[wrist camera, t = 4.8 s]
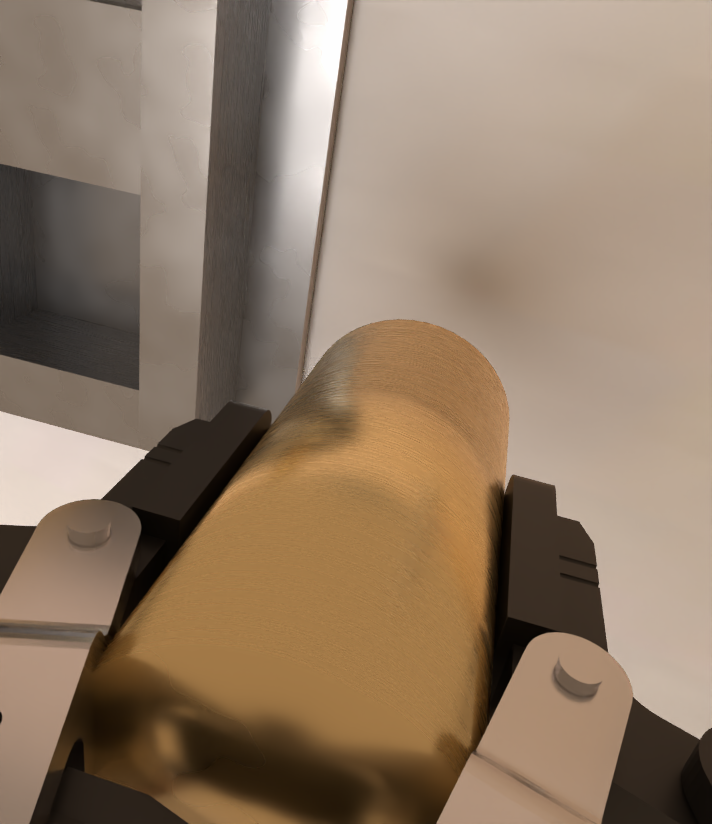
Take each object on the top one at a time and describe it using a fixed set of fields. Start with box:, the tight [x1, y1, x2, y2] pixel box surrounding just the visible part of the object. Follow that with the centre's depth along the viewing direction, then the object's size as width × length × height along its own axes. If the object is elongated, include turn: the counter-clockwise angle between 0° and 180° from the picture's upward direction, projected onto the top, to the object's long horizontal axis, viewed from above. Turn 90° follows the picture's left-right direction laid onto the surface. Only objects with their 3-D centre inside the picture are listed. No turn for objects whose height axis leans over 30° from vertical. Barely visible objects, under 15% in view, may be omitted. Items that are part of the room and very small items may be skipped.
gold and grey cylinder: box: [92, 319, 509, 824], centre depth 11 cm, size 4×4×9 cm
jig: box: [0, 0, 354, 451], centre depth 19 cm, size 15×26×10 cm, turn 170°
